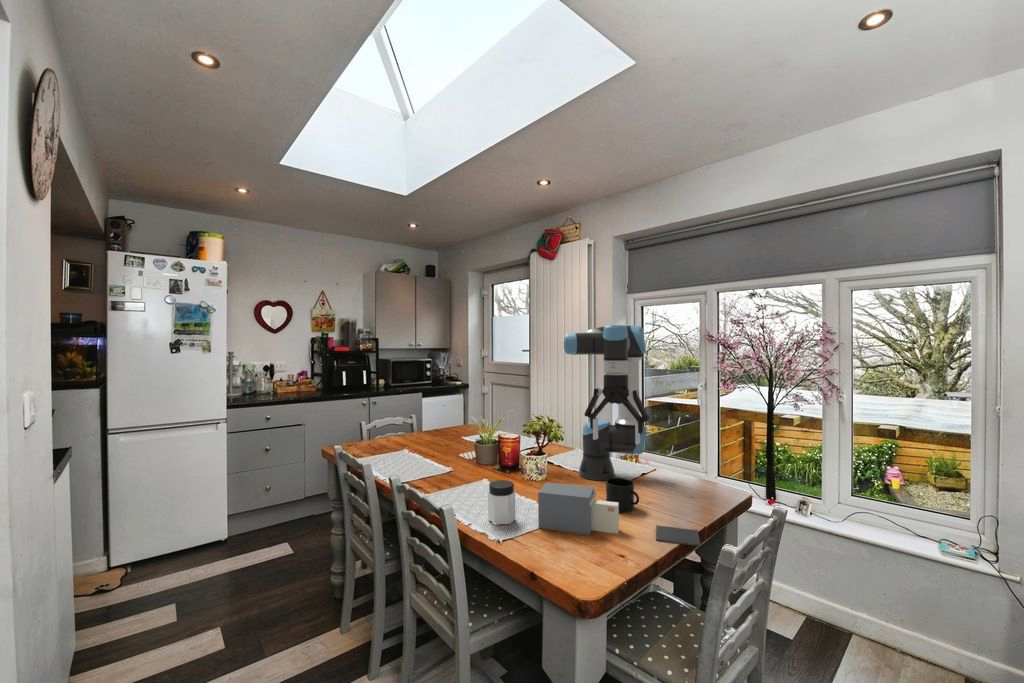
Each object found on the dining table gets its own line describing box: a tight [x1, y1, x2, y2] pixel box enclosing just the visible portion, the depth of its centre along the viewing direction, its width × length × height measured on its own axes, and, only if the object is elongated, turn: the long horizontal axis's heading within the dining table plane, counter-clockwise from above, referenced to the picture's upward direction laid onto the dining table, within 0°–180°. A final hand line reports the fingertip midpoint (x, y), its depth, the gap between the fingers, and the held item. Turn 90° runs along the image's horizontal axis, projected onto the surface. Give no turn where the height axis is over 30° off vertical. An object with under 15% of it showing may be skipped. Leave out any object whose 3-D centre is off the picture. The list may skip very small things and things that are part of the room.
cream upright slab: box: [591, 499, 620, 535], centre depth 135 cm, size 3×13×8 cm, turn 71°
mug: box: [605, 477, 640, 513], centre depth 151 cm, size 9×12×9 cm
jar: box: [487, 479, 516, 525], centre depth 142 cm, size 9×8×12 cm
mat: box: [655, 524, 702, 548], centre depth 130 cm, size 10×12×1 cm
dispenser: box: [537, 482, 597, 536], centre depth 138 cm, size 10×17×11 cm, turn 71°
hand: (616, 441), depth 137 cm, fingers open, 13 cm apart
